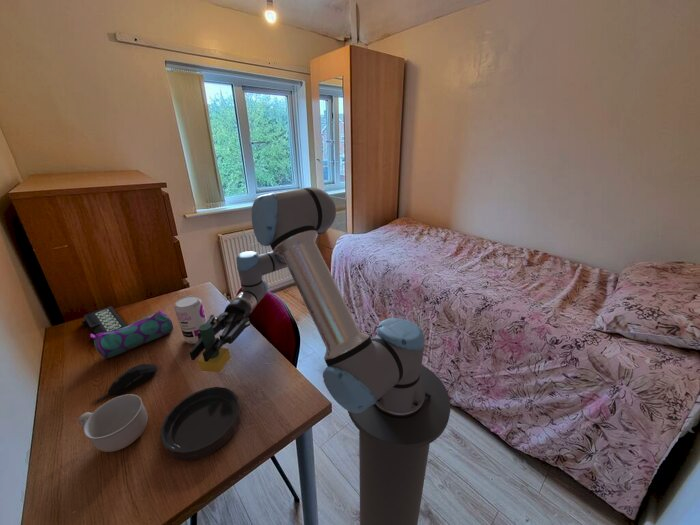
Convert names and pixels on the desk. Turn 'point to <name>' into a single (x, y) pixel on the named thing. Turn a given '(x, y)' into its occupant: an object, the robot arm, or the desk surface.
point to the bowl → (201, 423)
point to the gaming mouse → (131, 379)
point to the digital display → (103, 321)
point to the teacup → (115, 423)
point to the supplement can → (190, 317)
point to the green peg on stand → (218, 357)
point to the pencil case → (132, 335)
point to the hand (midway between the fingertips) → (198, 356)
